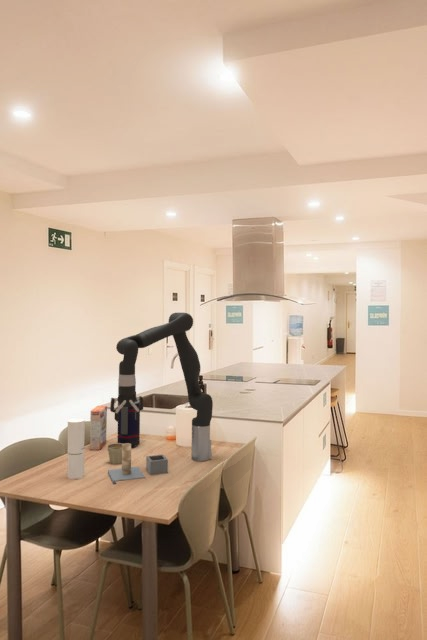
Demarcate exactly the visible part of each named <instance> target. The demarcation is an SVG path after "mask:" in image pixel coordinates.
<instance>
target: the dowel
mask: <svg viewBox="0 0 427 640" xmlns="http://www.w3.org/2000/svg"><path fill="white" fill-rule="evenodd" d="M131 467H132V448H131V444H130V443H124V444H122V463H121V468H122V474H123V475H129V474H131Z"/></svg>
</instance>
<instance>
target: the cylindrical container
mask: <svg viewBox="0 0 427 640" xmlns="http://www.w3.org/2000/svg"><path fill="white" fill-rule="evenodd" d="M66 470H67V478H68V479H71V480H77V479H82V478H83V477H85V419H84V418H70V419H68V420H67V467H66Z"/></svg>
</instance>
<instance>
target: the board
mask: <svg viewBox="0 0 427 640" xmlns="http://www.w3.org/2000/svg"><path fill="white" fill-rule="evenodd" d="M107 474H108V476H109V479H110V481H111V483H112V484H113V485H117V482H124V481H132V480H141V479H146V476H145V474H144V473H143V471H142V470H141V469H140V467H139V466H131V474H129V475H123V474H122V467H121V468H114V469H108V470H107Z"/></svg>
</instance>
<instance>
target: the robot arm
mask: <svg viewBox="0 0 427 640" xmlns="http://www.w3.org/2000/svg"><path fill="white" fill-rule="evenodd" d="M193 325H194V318H193V317H192V315H191V314H190V313H187V312H174V313H171V314H170V315H169V318H168V322H167V323H164V324H160V325H158V326H157V325H156V326H154V327H151V328H148V329H146V330H143V331H141V332H139V333H137V334H135V335H134V334H133V335H130V336H127V337H124V338H122V339H120V340H119V341H117V344H116V351H117V352H118V354H120V355H123V358H122V360H121V361H120V362H119V364H118V379H117V380H118V381H117V382H118V385H117V387H118V389H117V390H118V391H117V392H118V393H117V395H118V396H117V398H116V397H111V398H110V407H109V409H110V412H111V413H114V420H115V422H117V423H118V412H119V410H120V409H121V408H122V407H131V406H133V407H134V409H135V410H136V411H135V420H138V419H139V411H140V412H141V411H143V410H144V401H143V396H141V395H139V396H137V391H136V387H137V386H136V383H137V381H136V362H137V359H138V354H139V349H144V348H146V347H149V346H151V345H153V344H155V343H158V342H159V341H162V340H164V339H166V338H169V337H171V336H172V337H173V340H174V343H175V347H176V350H177V354H178V359H179V362H180V367H181V370H182V373H183V377H184V381H185V385H186V390H187V392H186V393H187V398H188V403H189V406H190V407H191V409H193V410H195V411H196V416H195V417H193V418H192V419H191V454H190V455H191V460H192V461H194V462H206V461H209V460H212V440H211V420H212V418H213V408H214V403H213V398H212V396H211V395H210V394H208V393H205V392H202V388H201V386H200V385H201V384H200V374H201V363H200V358H199V355H198V352H197V351H196V349H195V348H194V346H193V345H192V343H191V342H190V340H189V339H188V335H187V332H188V331H190V330H191V329H192V328H193ZM135 393H136V395H135ZM136 399H137V401H139V408H137V406H136V405H135V404H134V403H135V401H136ZM118 402H119V404H118ZM116 403H117V406H116V408H115V404H116Z"/></svg>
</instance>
